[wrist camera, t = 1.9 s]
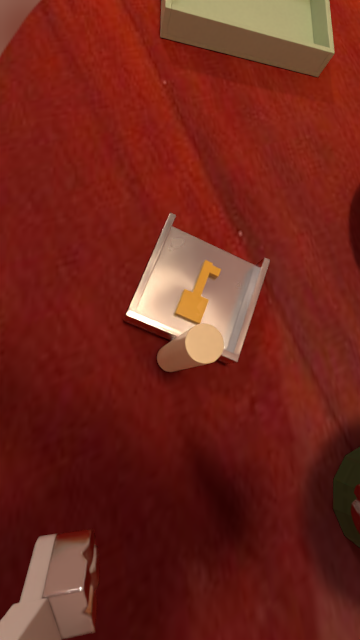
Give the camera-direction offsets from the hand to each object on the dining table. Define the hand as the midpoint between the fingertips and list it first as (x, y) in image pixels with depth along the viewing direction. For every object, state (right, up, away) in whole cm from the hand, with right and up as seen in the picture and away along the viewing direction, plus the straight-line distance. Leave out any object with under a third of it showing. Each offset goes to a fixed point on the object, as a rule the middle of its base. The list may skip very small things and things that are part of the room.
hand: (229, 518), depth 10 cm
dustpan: (-1, +7, +20) cm, 22 cm away
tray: (+6, +42, +29) cm, 51 cm away
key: (0, +9, +20) cm, 22 cm away
